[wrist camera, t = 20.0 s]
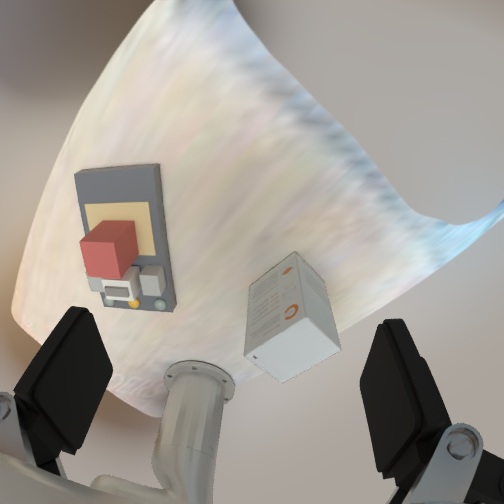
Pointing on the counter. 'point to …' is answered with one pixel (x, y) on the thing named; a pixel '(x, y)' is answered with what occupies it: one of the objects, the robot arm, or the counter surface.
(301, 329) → the small box
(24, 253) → the counter surface
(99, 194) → the breaker panel
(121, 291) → the breaker switch
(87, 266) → the red block
